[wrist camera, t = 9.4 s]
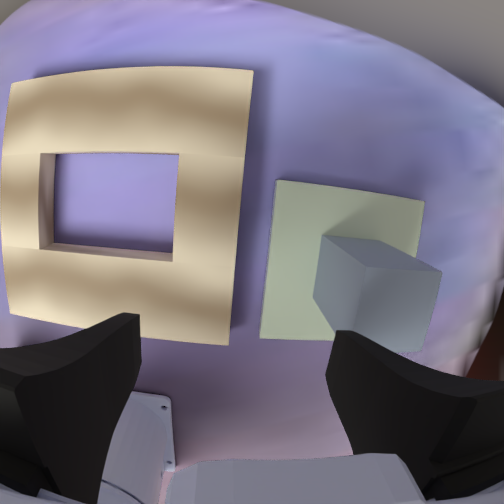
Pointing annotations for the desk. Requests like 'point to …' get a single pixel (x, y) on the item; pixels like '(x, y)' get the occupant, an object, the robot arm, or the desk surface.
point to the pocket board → (140, 142)
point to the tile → (308, 246)
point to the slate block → (375, 291)
